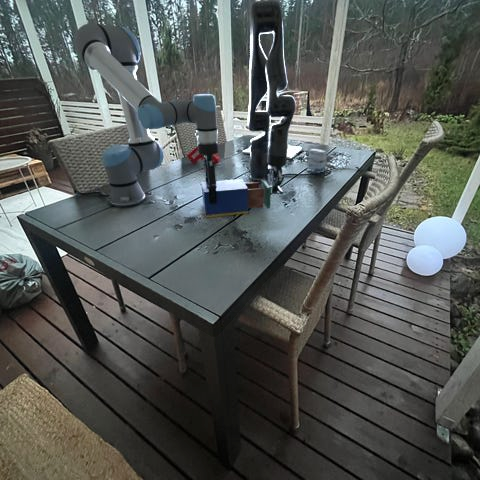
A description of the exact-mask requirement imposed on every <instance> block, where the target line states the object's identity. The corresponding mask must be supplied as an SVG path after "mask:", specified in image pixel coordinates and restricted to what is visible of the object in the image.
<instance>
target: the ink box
mask: <svg viewBox="0 0 480 480" xmlns="http://www.w3.org/2000/svg"><path fill="white" fill-rule="evenodd" d="M327 153H328V151H327V150H323V149H318V148H311V149H310V150H309V151H308V159H307V167H306V171H308V172H311V173H317V172H316V171H322V170H324V171H325V165H326V159H327ZM308 169H311V170H308ZM312 170H315V171H312Z"/></svg>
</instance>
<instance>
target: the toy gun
mask: <svg viewBox="0 0 480 480" xmlns="http://www.w3.org/2000/svg"><path fill="white" fill-rule="evenodd" d="M186 157H187V159H188V160H189V161H190V162H191V163H192V164H194V163H197V162H198V161H199V160H200V159H201V160H202V161H204V160H203V157H204V155H201V154H199V153H198V145H196V147H195V148H194V149H193V150H191V151H190V152H189V153H188V154H187V155H186ZM212 157H214V159H215V163H214V165H215V166H216V165H217V164H219V163H220V160H221V156H220V155H218V153H217V154H213V155H212Z"/></svg>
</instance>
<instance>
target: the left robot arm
mask: <svg viewBox="0 0 480 480" xmlns="http://www.w3.org/2000/svg"><path fill="white" fill-rule="evenodd" d="M74 45H75V50H76V53H77V54H78V56H79V58H80V59H81V61H82V62H83V63H84V64H85V65H86V66H87V67H88V68H89V69H90V70H91V71H93V72H97V73H98V74H99V76H101V77H102V78H103V79H104V80H105V81H106V82H107V83H108V84H109V85H110V86H111V87H112V88H113V89H114V90H116V92H117V95H118V98H119V102H120V106H121V109H122V113H123V116H124V120H125V124H126V128H127V131H128V135H129V139H128V141H127V144H119V145H113V146H110V147H108V148H106V149H104V150H103V152H102V153H101V158H102V159H101V160H102V164H103V166H104V170H105V173H106V177H107V180H108V184H109V193H108V194H105V193H104V192H103V191H100V190H94V191H89V192H81V191H80V190H78V189H76V188H75V189H74V190H73V193H77V194H79V195H82V196H87V195H88V196H89V195H93V194H101V196H102V197H106V198H107V197H109V204H110V205H111V206H113V207H115V208H130V207H135V206H137V205H140V204H141V203H143V202H144V201H145V200H146V194H145V192H144V190H143V189H142V187H141V185H140V184H139V181H138V177H137V175H139V174H143V173H145V172H148V171H152V170H155V169H157V168H159V167H160V166H161V165H162V164H163V162H164V157H165V156H164V151H163V148H162V146H161V144H160V143H159V142H158V141H156V140H155V137H153V136H152V135H151V132H150V130H158V129H162V128H166V127H170V126H176V125H180V124H186V123H187V124H195V131H196V132H195V133H194V136H195V137H196V140H197V146H198V153H199V154H201V155H204V157H203V160H202V161H203V165H204V176H205V182H209V187H207V189H209V199H210V204H215V203H217V197H216V188H217V186H216V181H217V178H216V164H215V165H214V163H215V159H214V157H212V155H213V154H217V155H218V153H219V143H218V141H219V132H218V125H217V123H218V122H217V102H216V96H215V95H214V94H211V93H197V94H194V95H193V97H192V98H193V99H183V98H174V99H171V100H170V101H160V100H159V99H158V98H157V97H155V96H154V94H153V93H152V92H151V91H149V90H148V89H147V88H146V87H145V86H144V85H143V84H142V83H141V82H140V81H139V80H138V78H137V74H136V72H137V70H138V68H139V66H138V63H139V61H140V60H141V54H142V52H141V51H142V50H141V47H140V42H139V41H138V39H137V36H136V35H135V34H134V33H133V32H132V31H131V30H130V29H129V28H127V27H124V26H123V27H122V26H119V25H109V24H98V23H91V22H90V23H85V24H83V25H82V26H80V27H79V28H78V29H77V31H76V33H75V36H74Z"/></svg>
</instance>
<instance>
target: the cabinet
mask: <svg viewBox="0 0 480 480" xmlns="http://www.w3.org/2000/svg"><path fill="white" fill-rule="evenodd" d="M245 183H246V182H245V181H244V180H243V178H239V179H237V178H236V179H226V180H225V179H224V180H216V186H217V188H216V197H217V203H215V204H210V199H209V189H207V187H209V182H206V181H201V183H200V185H201V194H202V206H203V211H204V216H205V219H207V218H215V217H216V218H217V217H227V216H237V215H245V214H249V208H248V188H247V186H246V185H245Z"/></svg>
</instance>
